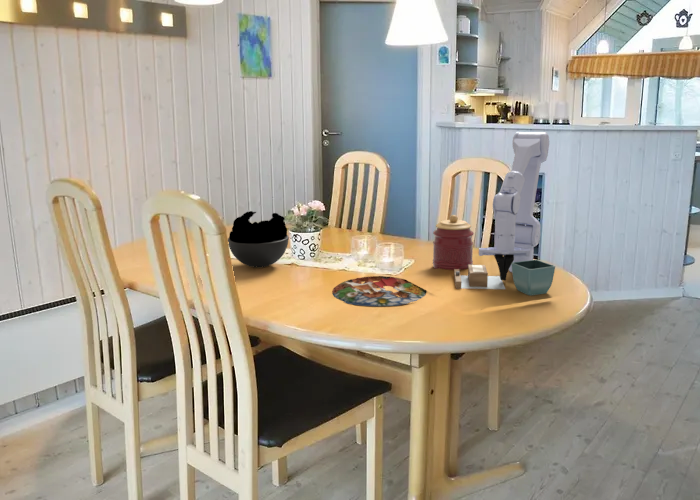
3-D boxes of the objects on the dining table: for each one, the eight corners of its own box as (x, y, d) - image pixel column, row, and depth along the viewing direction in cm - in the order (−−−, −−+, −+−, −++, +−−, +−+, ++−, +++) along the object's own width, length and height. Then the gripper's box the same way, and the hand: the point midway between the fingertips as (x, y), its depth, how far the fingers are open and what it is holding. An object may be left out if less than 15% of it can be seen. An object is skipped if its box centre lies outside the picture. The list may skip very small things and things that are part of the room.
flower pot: (509, 292, 187) (510, 262, 185) (535, 289, 190) (536, 259, 188) (527, 301, 179) (529, 269, 177) (554, 297, 182) (556, 266, 180)
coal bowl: (218, 266, 220) (214, 211, 215) (267, 256, 233) (265, 204, 228) (250, 278, 205) (248, 219, 201) (301, 266, 218) (299, 211, 214)
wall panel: (454, 278, 202) (454, 265, 201) (500, 279, 200) (500, 266, 199) (455, 291, 188) (456, 278, 187) (505, 292, 187) (506, 279, 186)
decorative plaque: (409, 268, 207) (448, 292, 179) (409, 276, 208) (448, 301, 180) (317, 277, 200) (342, 304, 171) (317, 286, 200) (343, 314, 172)
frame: (467, 277, 199) (468, 264, 198) (484, 277, 198) (485, 264, 198) (469, 286, 189) (470, 272, 188) (487, 286, 189) (487, 273, 188)
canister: (460, 275, 205) (462, 219, 201) (425, 269, 213) (425, 215, 209) (479, 266, 216) (481, 213, 212) (444, 261, 223) (445, 210, 219)
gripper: (480, 236, 187) (479, 282, 190) (532, 237, 185) (530, 283, 188) (478, 231, 194) (477, 276, 197) (528, 232, 192) (526, 277, 195)
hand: (502, 279), depth 193 cm, fingers closed
